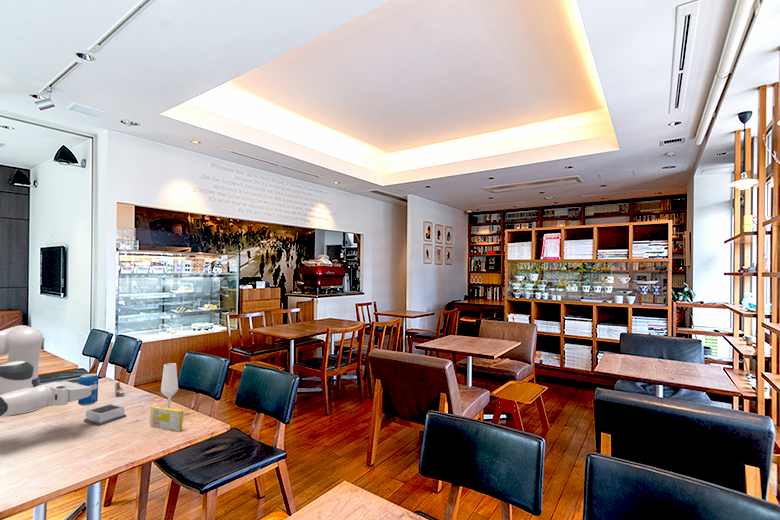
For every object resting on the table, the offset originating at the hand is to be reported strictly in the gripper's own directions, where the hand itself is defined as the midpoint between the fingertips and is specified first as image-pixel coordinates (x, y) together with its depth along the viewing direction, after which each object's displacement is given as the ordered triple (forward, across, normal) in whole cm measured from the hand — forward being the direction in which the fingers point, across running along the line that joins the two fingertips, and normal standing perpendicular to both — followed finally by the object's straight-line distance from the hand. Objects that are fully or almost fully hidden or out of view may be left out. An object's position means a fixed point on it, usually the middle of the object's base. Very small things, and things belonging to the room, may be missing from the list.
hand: (91, 384), depth 163 cm
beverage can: (-1, 0, -8) cm, 8 cm away
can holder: (+6, -1, -17) cm, 18 cm away
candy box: (+12, +32, -17) cm, 38 cm away
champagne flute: (+18, +24, -17) cm, 35 cm away
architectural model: (+28, -30, -17) cm, 45 cm away
